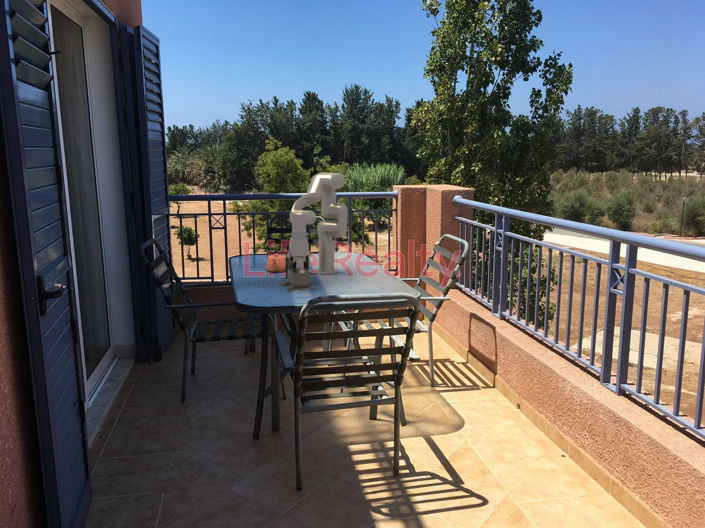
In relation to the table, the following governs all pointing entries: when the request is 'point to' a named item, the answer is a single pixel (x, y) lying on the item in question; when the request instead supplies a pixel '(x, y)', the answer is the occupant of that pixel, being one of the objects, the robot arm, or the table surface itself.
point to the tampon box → (290, 264)
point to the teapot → (276, 263)
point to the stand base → (298, 280)
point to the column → (299, 264)
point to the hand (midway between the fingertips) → (298, 268)
